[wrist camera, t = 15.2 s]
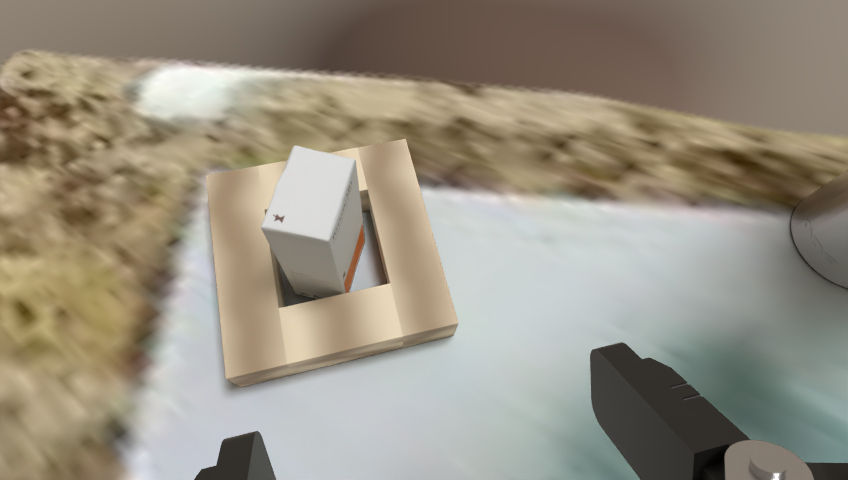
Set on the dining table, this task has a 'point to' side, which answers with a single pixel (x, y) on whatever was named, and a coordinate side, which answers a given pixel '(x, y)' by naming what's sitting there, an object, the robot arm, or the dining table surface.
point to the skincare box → (316, 222)
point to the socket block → (337, 315)
